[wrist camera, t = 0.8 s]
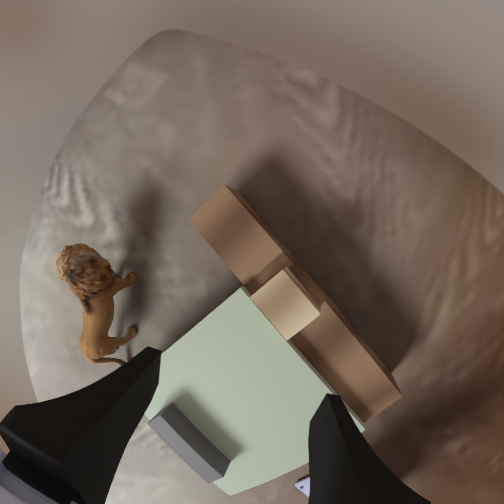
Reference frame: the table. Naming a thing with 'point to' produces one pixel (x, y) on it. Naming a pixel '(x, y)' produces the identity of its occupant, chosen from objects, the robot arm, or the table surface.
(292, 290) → the wooden key
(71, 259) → the lion figurine
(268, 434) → the lid
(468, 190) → the table surface
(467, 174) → the table surface
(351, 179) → the table surface
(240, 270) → the wooden box
